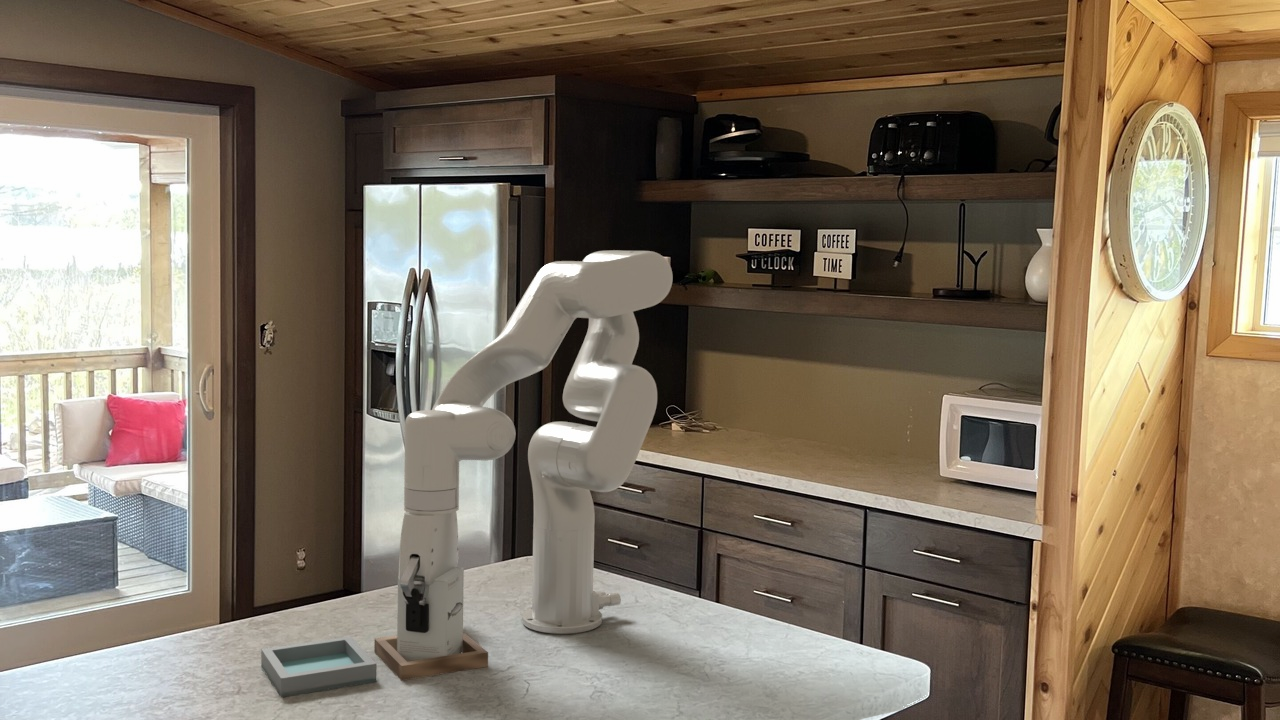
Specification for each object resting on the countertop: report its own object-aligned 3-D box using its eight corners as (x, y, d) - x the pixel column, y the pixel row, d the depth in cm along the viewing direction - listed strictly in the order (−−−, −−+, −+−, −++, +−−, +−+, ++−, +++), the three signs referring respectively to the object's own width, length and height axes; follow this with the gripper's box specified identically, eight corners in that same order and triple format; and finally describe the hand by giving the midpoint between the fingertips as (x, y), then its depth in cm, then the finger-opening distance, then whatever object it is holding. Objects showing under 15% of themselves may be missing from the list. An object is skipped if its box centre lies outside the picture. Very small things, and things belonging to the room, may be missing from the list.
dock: (351, 653, 162) (351, 636, 162) (376, 681, 151) (376, 663, 151) (261, 666, 156) (261, 648, 156) (281, 697, 145) (281, 678, 145)
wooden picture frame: (456, 639, 169) (456, 626, 169) (487, 666, 158) (488, 652, 158) (374, 652, 163) (374, 638, 163) (401, 680, 152) (401, 666, 152)
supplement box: (445, 670, 156) (446, 580, 155) (395, 665, 158) (395, 576, 156) (464, 652, 163) (465, 566, 162) (416, 648, 165) (416, 563, 164)
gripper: (434, 486, 168) (433, 602, 169) (377, 509, 151) (376, 638, 153) (481, 489, 166) (480, 607, 167) (428, 514, 149) (427, 644, 151)
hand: (430, 621), depth 160 cm, fingers closed on supplement box, 7 cm apart
